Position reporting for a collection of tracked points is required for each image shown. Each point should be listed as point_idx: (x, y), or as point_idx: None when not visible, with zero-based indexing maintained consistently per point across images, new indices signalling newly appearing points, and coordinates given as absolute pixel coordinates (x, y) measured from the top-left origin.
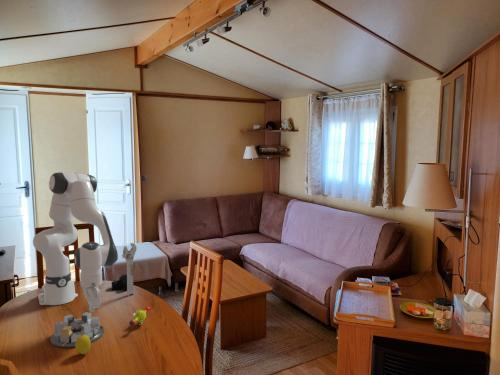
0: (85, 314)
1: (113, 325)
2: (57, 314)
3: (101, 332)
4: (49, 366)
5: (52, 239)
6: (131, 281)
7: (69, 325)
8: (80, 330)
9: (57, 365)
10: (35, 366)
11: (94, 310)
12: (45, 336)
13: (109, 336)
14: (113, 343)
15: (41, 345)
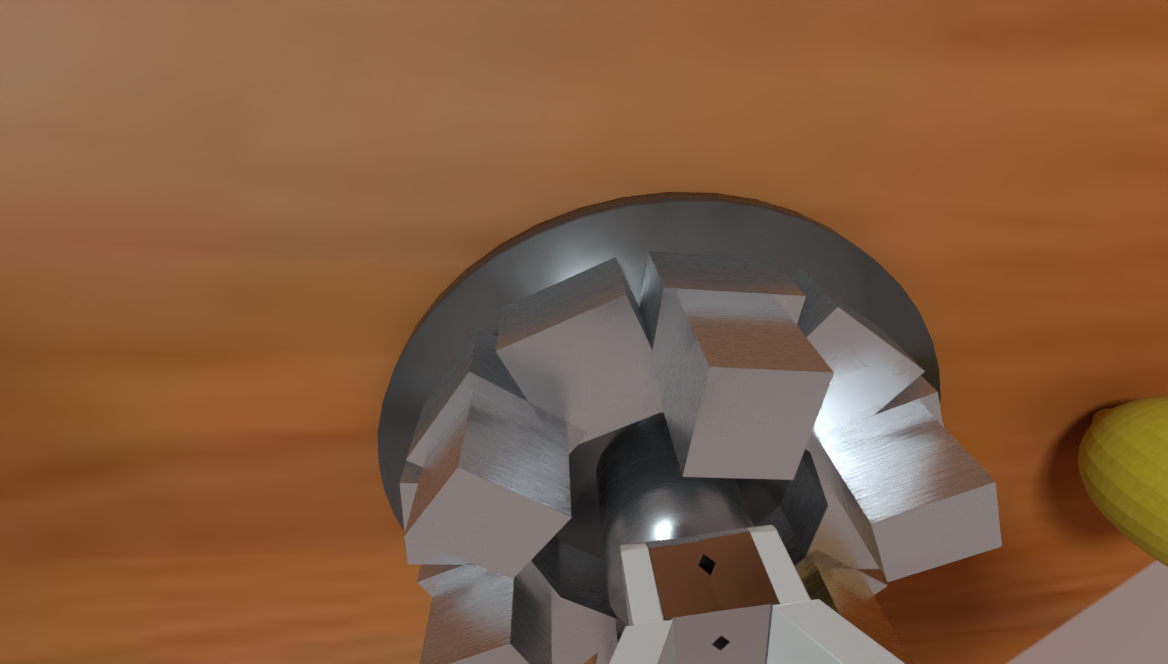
0: (510, 536)
1: (552, 16)
2: (3, 608)
3: (800, 239)
4: (1061, 591)
5: None
6: None
7: (557, 584)
8: (738, 488)
9: (1095, 556)
10: (985, 645)
11: (777, 537)
12: None
13: (909, 132)
14: (1154, 104)
15: None
